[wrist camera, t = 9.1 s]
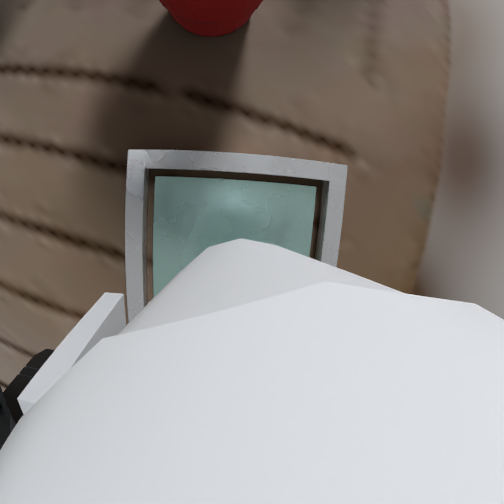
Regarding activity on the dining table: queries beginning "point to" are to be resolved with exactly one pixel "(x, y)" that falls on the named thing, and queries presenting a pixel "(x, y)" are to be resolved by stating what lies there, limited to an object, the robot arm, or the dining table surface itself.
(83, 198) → the dining table surface
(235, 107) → the dining table surface
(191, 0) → the plastic cup
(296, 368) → the foam cup
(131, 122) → the dining table surface
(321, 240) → the grey flat rectangular frame
